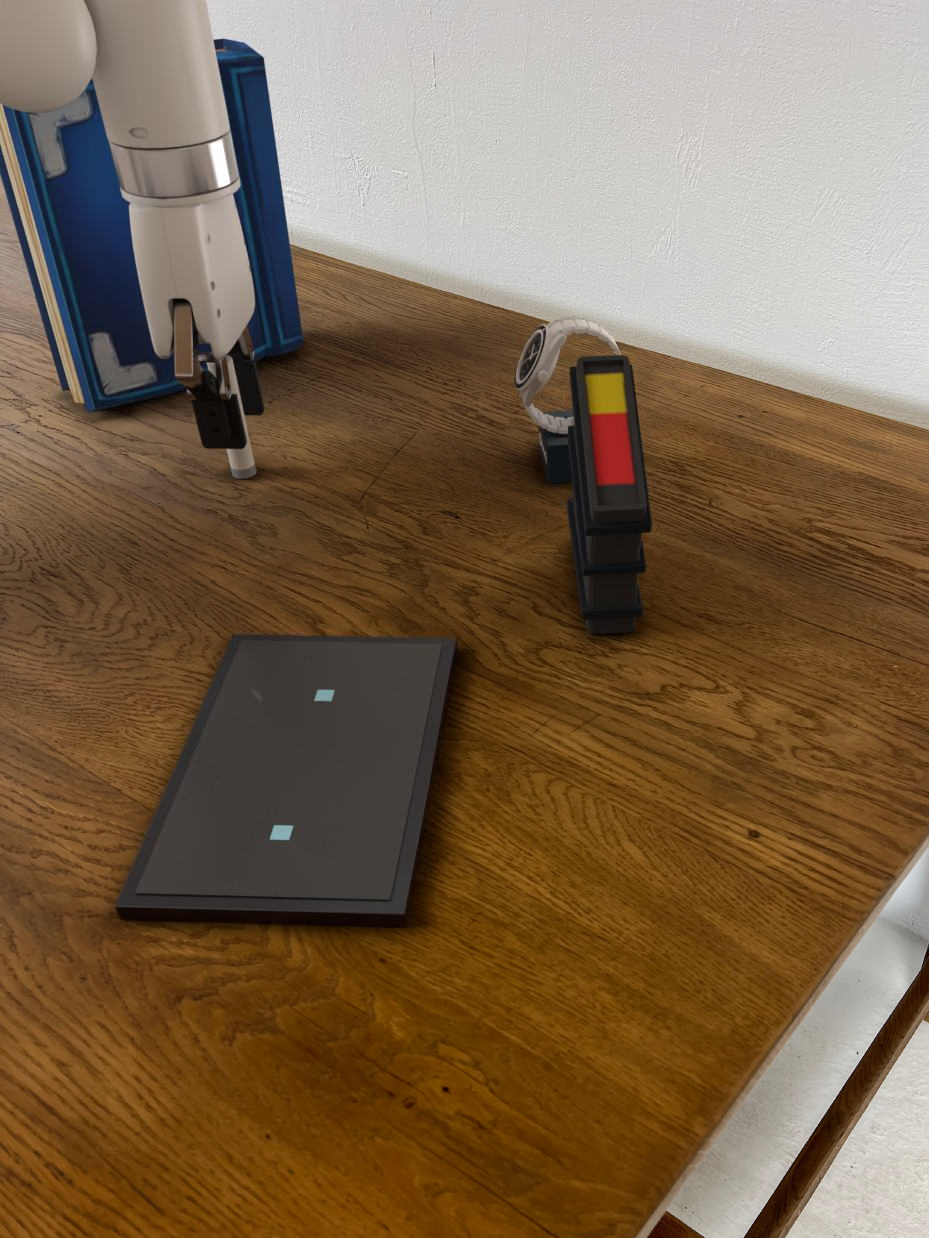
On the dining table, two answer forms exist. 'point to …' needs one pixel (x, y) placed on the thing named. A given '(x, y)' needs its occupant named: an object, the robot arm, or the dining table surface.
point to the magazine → (607, 493)
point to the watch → (534, 376)
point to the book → (102, 241)
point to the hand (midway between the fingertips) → (234, 427)
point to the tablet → (300, 785)
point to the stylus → (243, 458)
